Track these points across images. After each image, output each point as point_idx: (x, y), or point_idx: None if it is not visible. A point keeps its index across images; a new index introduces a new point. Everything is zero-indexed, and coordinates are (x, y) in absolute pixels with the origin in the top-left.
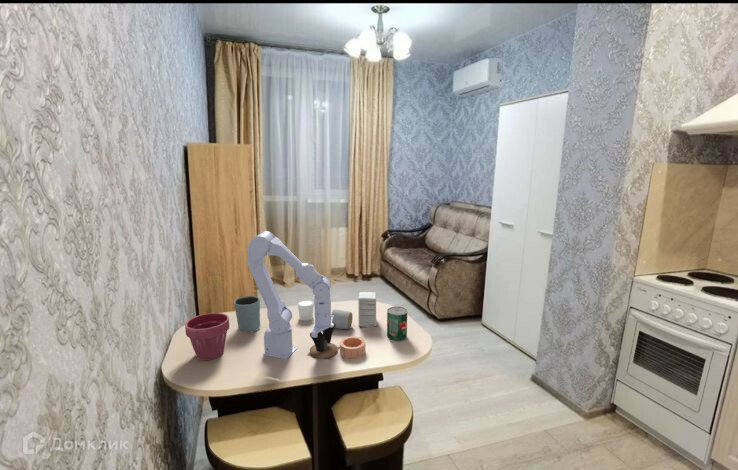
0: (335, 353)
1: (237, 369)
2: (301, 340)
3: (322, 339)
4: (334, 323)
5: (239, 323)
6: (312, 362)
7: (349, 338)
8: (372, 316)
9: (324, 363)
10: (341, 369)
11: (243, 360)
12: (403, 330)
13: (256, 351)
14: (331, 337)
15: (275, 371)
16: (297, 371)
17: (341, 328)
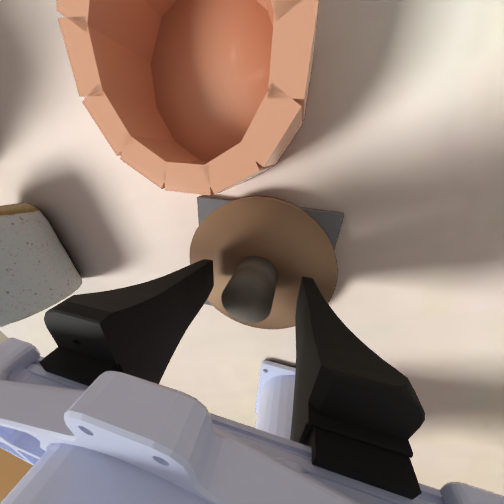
0: (277, 200)
1: (420, 473)
2: (203, 353)
3: (388, 369)
4: (48, 323)
5: None
6: (367, 293)
7: (127, 130)
8: None
9: (377, 234)
10: (477, 81)
11: None
12: None
13: None
14: (181, 269)
15: (448, 402)
16: (462, 337)
17: (58, 241)
